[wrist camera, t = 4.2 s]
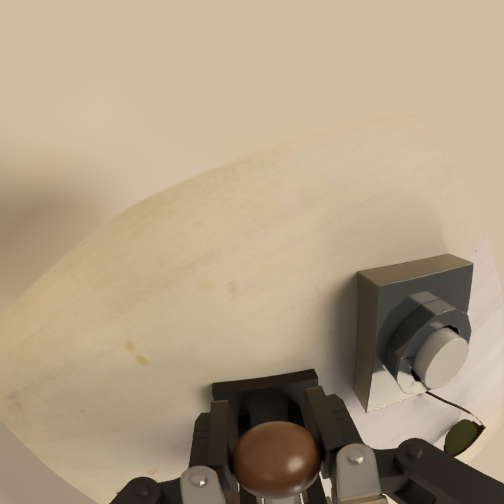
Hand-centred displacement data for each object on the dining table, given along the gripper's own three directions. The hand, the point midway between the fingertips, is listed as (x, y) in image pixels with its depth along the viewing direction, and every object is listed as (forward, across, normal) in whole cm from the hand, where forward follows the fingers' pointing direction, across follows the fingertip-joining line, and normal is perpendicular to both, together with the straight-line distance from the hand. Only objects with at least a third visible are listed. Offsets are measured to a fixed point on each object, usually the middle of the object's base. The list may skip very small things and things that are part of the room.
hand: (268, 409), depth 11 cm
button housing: (+9, -12, +3) cm, 15 cm away
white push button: (+4, -12, +3) cm, 13 cm away
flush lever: (-1, 0, +5) cm, 5 cm away
